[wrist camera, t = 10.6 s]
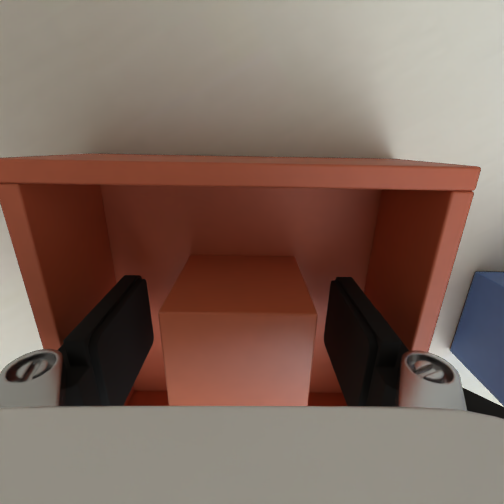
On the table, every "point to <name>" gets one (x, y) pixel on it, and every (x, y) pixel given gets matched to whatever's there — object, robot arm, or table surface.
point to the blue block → (483, 332)
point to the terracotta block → (238, 332)
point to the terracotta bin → (234, 235)
